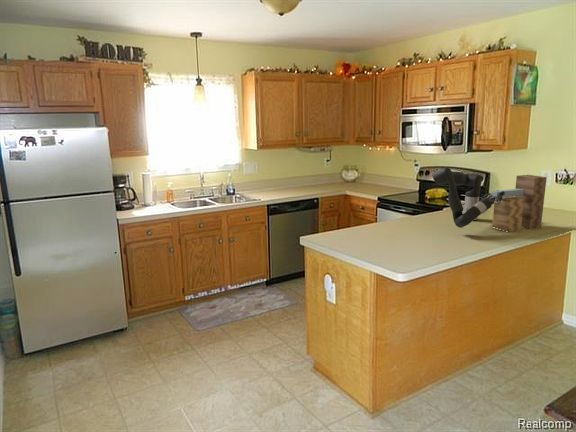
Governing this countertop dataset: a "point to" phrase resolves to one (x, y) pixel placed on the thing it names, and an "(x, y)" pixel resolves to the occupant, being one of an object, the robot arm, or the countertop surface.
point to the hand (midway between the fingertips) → (501, 191)
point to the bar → (509, 192)
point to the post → (532, 199)
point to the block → (508, 214)
